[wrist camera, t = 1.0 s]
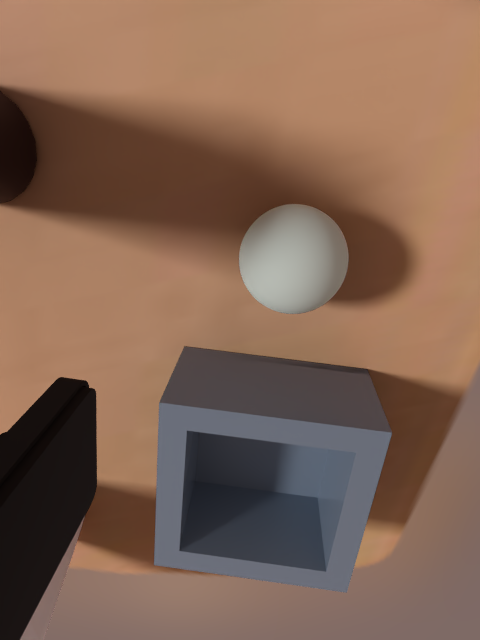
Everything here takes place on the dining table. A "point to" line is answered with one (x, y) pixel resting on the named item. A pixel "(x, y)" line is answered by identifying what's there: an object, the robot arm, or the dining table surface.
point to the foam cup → (50, 597)
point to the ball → (293, 258)
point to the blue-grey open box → (266, 467)
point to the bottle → (14, 151)
